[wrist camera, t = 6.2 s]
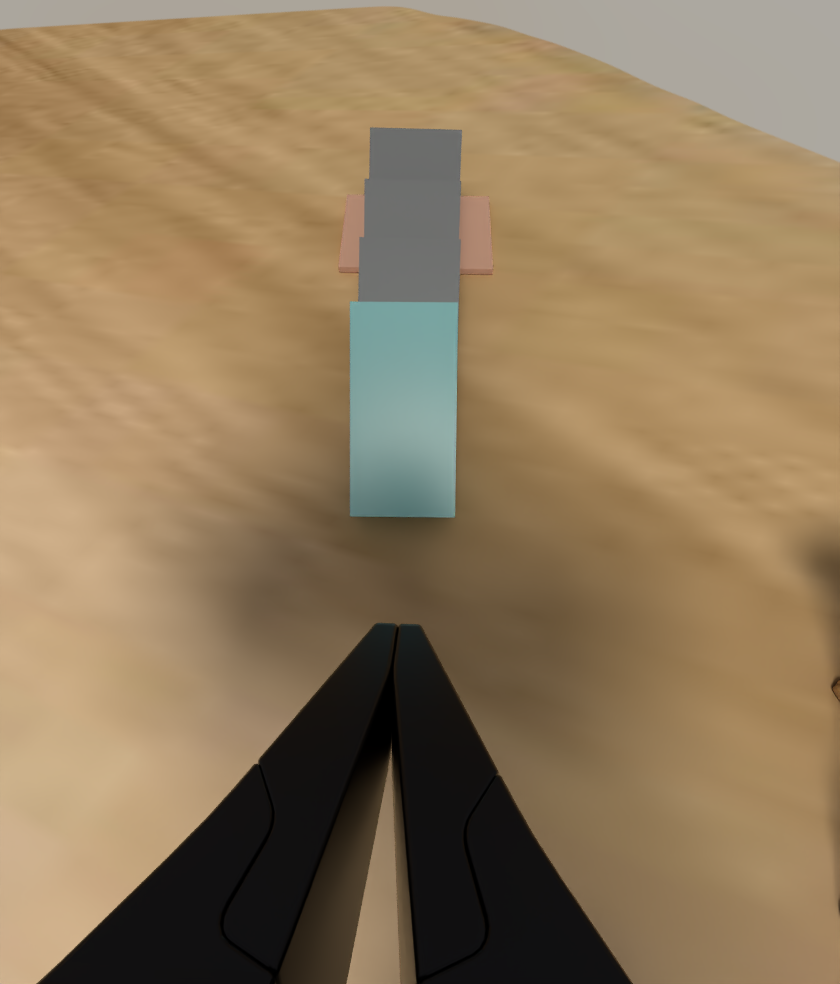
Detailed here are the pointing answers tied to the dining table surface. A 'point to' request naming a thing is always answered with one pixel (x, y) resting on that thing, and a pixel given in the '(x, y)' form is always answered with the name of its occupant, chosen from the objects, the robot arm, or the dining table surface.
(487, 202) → the strip
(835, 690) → the lion figurine
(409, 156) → the domino
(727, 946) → the dining table surface
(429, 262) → the domino
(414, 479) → the domino
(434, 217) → the domino
